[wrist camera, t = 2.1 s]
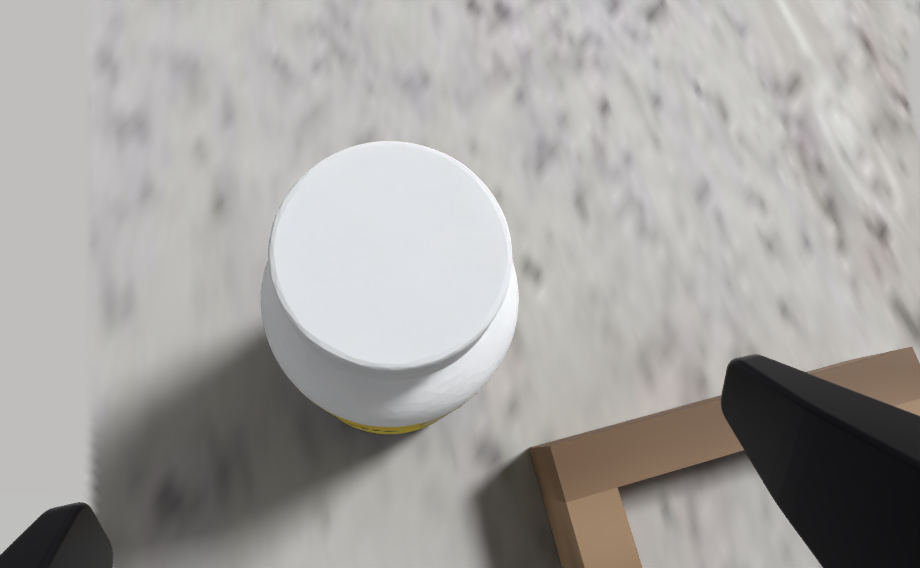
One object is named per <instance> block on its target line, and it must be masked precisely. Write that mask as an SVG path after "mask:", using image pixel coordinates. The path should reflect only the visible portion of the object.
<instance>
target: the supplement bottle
mask: <svg viewBox="0 0 920 568" xmlns="http://www.w3.org/2000/svg"><path fill="white" fill-rule="evenodd" d="M518 306H519V295H518V283H517V277H516V272H515V268H514V264H513V261H512V245H511V238H510V233H509V229H508V226H507V222H506V219H505V217H504V214H503V212H502V210H501V208H500V206H499V204H498V203H497V201H496V199H495V198H494V196H493V194H492V193H491V192H490V190H489V189H488V188H487V187H486V185H485V184H484V183H483V182H482V181H481V180H480V179H479V178H478V177H477V176H476V175H475V174H474V173H473V172H472V171H471V170H470V169H468V168H467V167H466V166H465V165H463V164H462V163H460V162H459V161H457V160H455V159H454V158H452V157H450V156H448V155H446V154H444V153H442V152H439V151H437V150H434V149H432V148H428V147H425V146H422V145H418V144H413V143H407V142H396V141H377V142H370V143H365V144H360V145H356V146H353V147H350V148H347V149H344V150H342V151H339V152H337V153H335V154H333V155H331V156H329V157H327V158H325V159H323V160H322V161H320V162H319V163H317V164H316V165H315V166H313V167H312V168H311V169H309V170H308V171H307V172H306V173H305V174H304V175H303V176H302V177H301V178H300V179H299V180H298V181H297V182H296V183H295V184H294V186H293V187H292V188H291V189H290V191H289V192H288V194H287V195H286V197H285V199H284V200H283V202H282V204H281V205H280V207H279V210H278V213H277V215H276V217H275V219H274V222H273V225H272V230H271V235H270V239H269V249H268V261H267V264H266V267H265V272H264V277H263V282H262V289H261V311H262V320H263V325H264V330H265V334H266V337H267V340H268V343H269V345H270V348H271V350H272V352H273V354H274V356H275V358H276V360H277V362H278V363H279V365H280V367H281V368H282V370H283V371H284V372H285V374H286V375H287V377H288V378H289V379H290V380H291V381H292V383H293V384H294V385H295V386H296V387H297V388H298V390H299V391H300V392H302V393H303V394H304V395H305V396H306V397H307V398H308V399H310V400H311V401H312V402H313V403H315V404H316V405H318V406H319V407H321V408H322V409H324V410H325V411H327V412H328V413H329V414H331V415H333V416H334V417H336V418H338V419H339V420H341V421H342V422H344V423H346V424H348V425H350V426H352V427H354V428H357V429H359V430H362V431H366V432H370V433H375V434H386V435H389V434H402V433H408V432H412V431H416V430H419V429H422V428H424V427H426V426H428V425H430V424H432V423H434V422H436V421H438V420H440V419H441V418H443V417H444V416H446V415H448V414H449V413H451V412H453V411H454V410H456V409H458V408H459V407H461V406H462V405H463V404H465V403H466V402H467V401H468V400H470V399H471V398H472V397H473V396H474V395H475V394H477V392H478V391H479V390H480V389H481V388H482V387H483V386H484V385H485V384H486V383H487V382H488V380H489V379H490V378H491V376H492V375H493V374H494V372H495V371H496V370H497V368H498V367H499V365H500V363H501V362H502V360H503V358H504V356H505V354H506V352H507V350H508V348H509V346H510V344H511V341H512V338H513V335H514V331H515V327H516V322H517V315H518Z"/></svg>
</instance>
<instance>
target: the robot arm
mask: <svg viewBox="0 0 920 568" xmlns="http://www.w3.org/2000/svg"><path fill="white" fill-rule="evenodd" d="M721 409H722V412H723V415H724V417H725V419H726V420H727V422H728V424H729V426H730V427H731V429H732V431H733V432H734V434H735V436H736V437H737V439H738V441H739V442H740V444H741V446H742V447H743V449H744V451H745V452H746V454H747V456H748V457H749V459H750V461H751V462H752V464H753V466H754V467H755V469H756V471H757V472H758V474H759V476H760V478H761V479H762V481H763V483H764V484H765V486H766V488H767V489H768V491H769V492H770V494H771V495H772V497H773V499H774V500H775V502H776V503H777V505H778V506H779V508H780V509H781V511H782V512H783V513H784V515H785V516H786V518H787V519H788V520H789V522H790V523H791V525H792V526H793V527H794V529H795V530H796V531H797V533H798V534H799V535H800V537H801V538H802V539H803V541H804V542H805V544H806V545H807V546H808V548H809V549H810V550H811V552H812V553H813V554H814V556H815V557H816V559H817V560H818V561H819V563H820V564H821V565H822V567H823V568H920V416H919V415H916V414H913V413H911V412H908V411H905V410H903V409H900V408H898V407H895V406H892V405H890V404H887V403H884V402H882V401H879V400H877V399H874V398H871V397H869V396H866V395H864V394H861V393H858V392H856V391H853V390H850V389H848V388H845V387H843V386H840V385H837V384H835V383H832V382H830V381H827V380H824V379H822V378H819V377H816V376H814V375H811V374H809V373H806V372H803V371H801V370H798V369H796V368H793V367H790V366H788V365H785V364H782V363H780V362H777V361H775V360H772V359H769V358H767V357H764V356H761V355H749V356H744V357H739V358H735V359H733V360H731V361H730V363H729V364H728V366H727V370H726V375H725V380H724V385H723V390H722V395H721ZM112 565H113V552H112V547H111V543H110V541H109V539H108V537H107V535H106V534H105V532H104V530H103V528H102V527H101V525H100V523H99V521H98V519H97V518H96V516H95V514H94V512H93V511H92V509H91V508H90V506H89V505H87V504H86V503H80V502H78V503H74V504H69V505H64V506H60V507H55V508H52V509H49V510H47V511H46V512H45V513H43V514H42V515H41V516H40V517H39V518H38V519H37V520H36V521H35V522H34V523H33V524H32V525H31V526H30V527H28V528H27V529H26V530H25V531H24V532H23V533H22V534H21V535H20V536H19V537H18V538H17V539H16V540H15V541H14V542H13V543H12V544H11V545H10V546H9V547H8V548H7V549H6V550H5V551H4V552H3V553H2V554H1V555H0V568H112Z"/></svg>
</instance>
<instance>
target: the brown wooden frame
mask: <svg viewBox="0 0 920 568" xmlns="http://www.w3.org/2000/svg"><path fill="white" fill-rule="evenodd" d="M806 373H809V374H811V375H814V376H816V377H819V378H822V379H824V380H827V381H830V382H832V383H835V384H837V385H840V386H843V387H845V388H848V389H850V390H853V391H856V392H858V393H861V394H864V395H866V396H869V397H871V398H874V399H877V400H879V401H882V402H884V403H887V404H890V405H892V406H895V407H898V408H900V409H903V410H905V411H908V412H911V413H913V414H916V415H919V416H920V363H919V361H918V359H917V357H916V355H915V352H914V350H913V348H912V347H909V348H904V349H899V350H895V351H890V352H886V353H881V354H876V355H872V356H867V357H862V358H858V359H853V360H849V361H845V362H842V363H838V364H834V365H831V366H827V367H823V368H820V369H816V370H812V371H809V372H806ZM529 449H530V453H531V457H532V460H533V464H534V468H535V471H536V475H537V479H538V482H539V486H540V489H541V493H542V497H543V500H544V504H545V508H546V511H547V515H548V518H549V522H550V526H551V529H552V533H553V537H554V540H555V544H556V548H557V551H558V555H559V558H560V562H561V566H562V568H642V565H641V562H640V559H639V556H638V552H637V549H636V546H635V543H634V539H633V536H632V533H631V530H630V526H629V523H628V520H627V517H626V513H625V510H624V507H623V504H622V500H621V497H620V494H619V491H618V487H621V486H624V485H628V484H631V483H635V482H638V481H641V480H645V479H648V478H651V477H655V476H658V475H662V474H665V473H668V472H672V471H675V470H679V469H682V468H685V467H689V466H692V465H696V464H699V463H702V462H706V461H709V460H713V459H716V458H719V457H723V456H726V455H730V454H733V453H736V452H740V451H743V450H744V449H743V447H742V446H741V444H740V442H739V441H738V439H737V437H736V436H735V434H734V432H733V431H732V429H731V427H730V426H729V424H728V422H727V420H726V419H725V417H724V415H723V412H722V409H721V396H717V397H714V398H710V399H706V400H703V401H699V402H695V403H692V404H688V405H684V406H681V407H677V408H673V409H670V410H666V411H662V412H659V413H655V414H651V415H648V416H644V417H640V418H637V419H633V420H629V421H626V422H622V423H618V424H615V425H611V426H607V427H604V428H600V429H596V430H593V431H589V432H585V433H582V434H578V435H574V436H571V437H567V438H563V439H560V440H556V441H552V442H549V443H545V444H541V445H538V446H534V447H530V448H529Z"/></svg>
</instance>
